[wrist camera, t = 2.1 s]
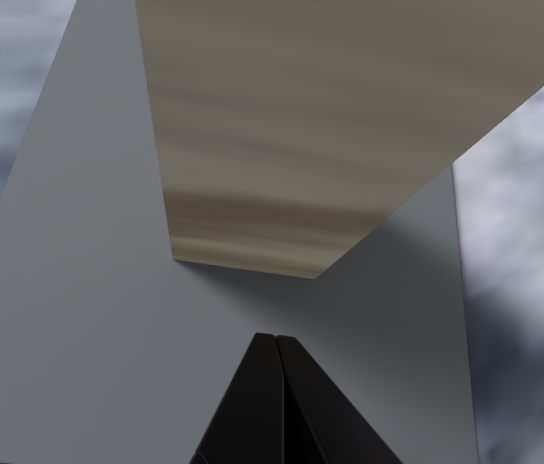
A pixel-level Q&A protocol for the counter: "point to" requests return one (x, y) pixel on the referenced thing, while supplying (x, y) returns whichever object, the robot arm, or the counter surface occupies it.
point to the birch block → (320, 114)
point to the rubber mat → (195, 291)
